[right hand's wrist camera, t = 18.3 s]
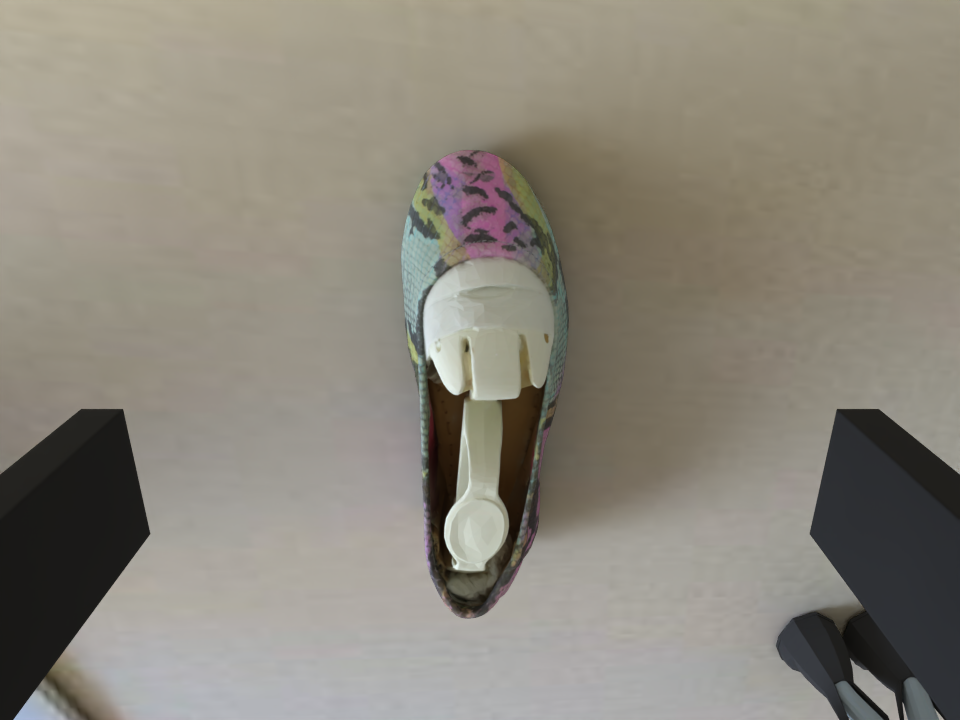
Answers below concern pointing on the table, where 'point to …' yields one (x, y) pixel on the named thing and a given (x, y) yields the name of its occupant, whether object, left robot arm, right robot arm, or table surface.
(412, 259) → the ballet flat
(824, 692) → the robot
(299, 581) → the table surface
